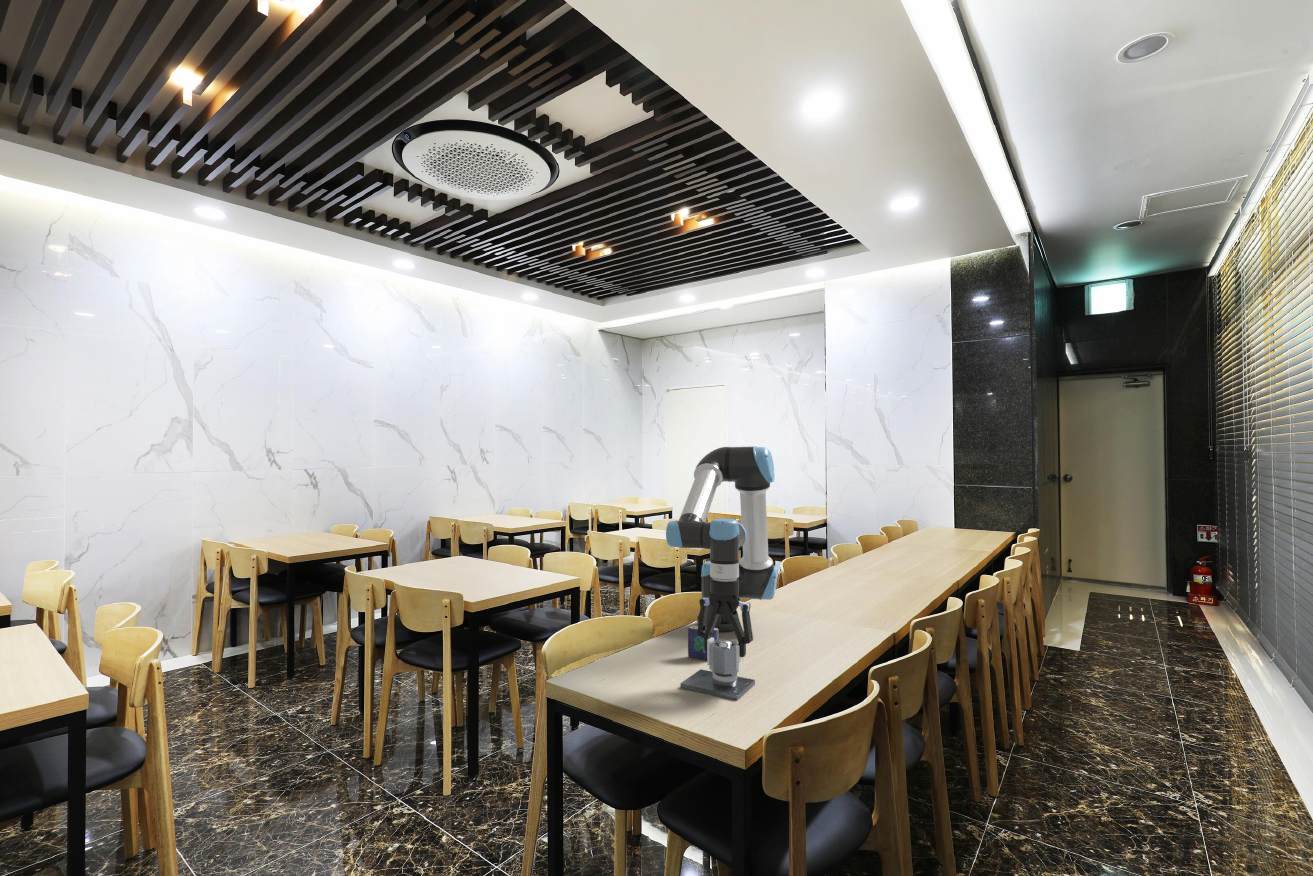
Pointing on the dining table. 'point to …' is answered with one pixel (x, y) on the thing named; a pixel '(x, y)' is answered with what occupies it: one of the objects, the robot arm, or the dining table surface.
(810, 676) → the dining table surface
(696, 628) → the flask
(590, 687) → the dining table surface
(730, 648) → the tube
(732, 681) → the shaft fixture
